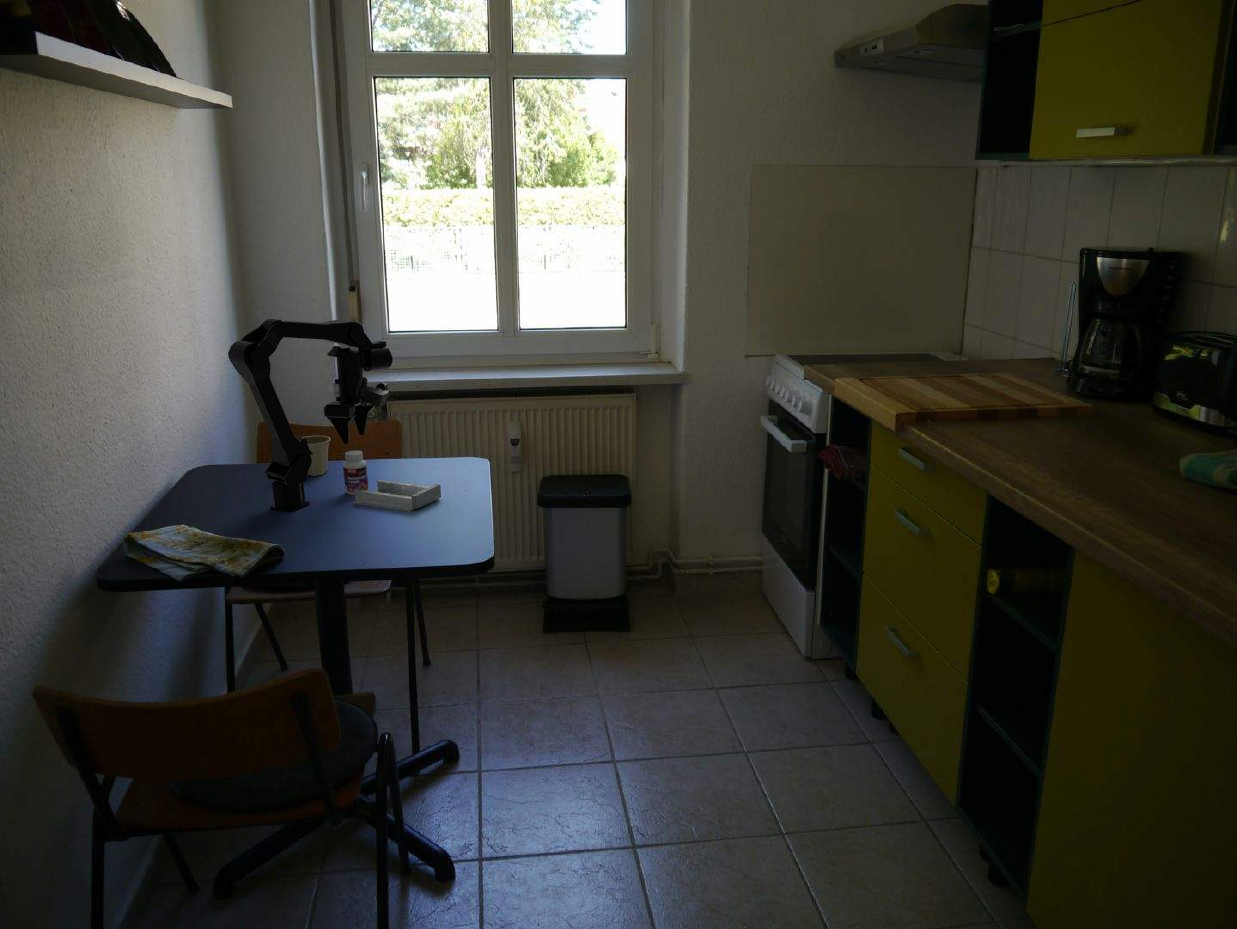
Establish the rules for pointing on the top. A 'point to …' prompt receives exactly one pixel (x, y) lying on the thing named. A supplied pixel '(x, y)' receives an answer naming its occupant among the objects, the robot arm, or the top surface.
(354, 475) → the pill bottle
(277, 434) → the robot arm
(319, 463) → the flower pot
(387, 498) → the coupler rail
